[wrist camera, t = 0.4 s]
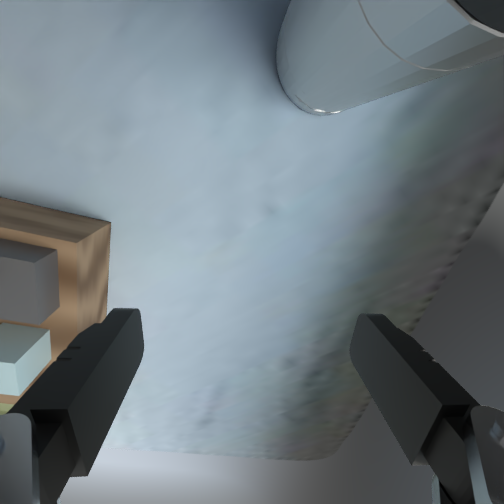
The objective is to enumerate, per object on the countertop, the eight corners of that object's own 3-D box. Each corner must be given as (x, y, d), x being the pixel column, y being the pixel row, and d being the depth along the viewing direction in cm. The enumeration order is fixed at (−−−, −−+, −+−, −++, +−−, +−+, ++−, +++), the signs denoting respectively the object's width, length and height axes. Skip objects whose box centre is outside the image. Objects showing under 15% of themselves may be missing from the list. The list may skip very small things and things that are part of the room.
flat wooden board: (-42, 187, 23) (-129, 200, 18) (110, 222, 25) (76, 243, 20) (-10, 353, 31) (-62, 396, 26) (103, 368, 33) (77, 411, 28)
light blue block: (3, 322, 22) (-43, 356, 19) (49, 329, 23) (14, 363, 19) (8, 353, 24) (-34, 390, 20) (51, 359, 25) (19, 395, 21)
